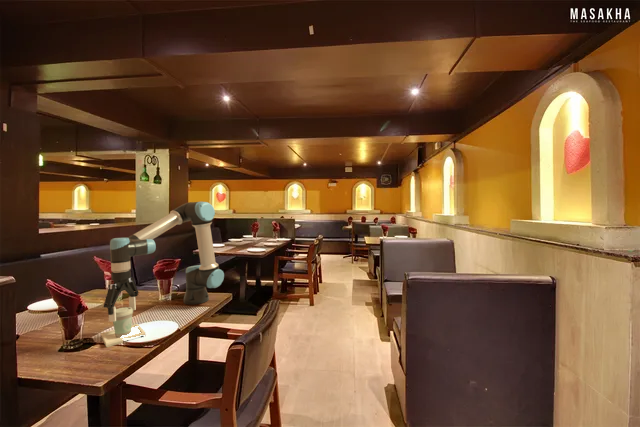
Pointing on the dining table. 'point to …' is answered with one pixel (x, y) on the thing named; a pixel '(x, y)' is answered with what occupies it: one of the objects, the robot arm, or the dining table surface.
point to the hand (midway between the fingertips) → (123, 315)
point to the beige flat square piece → (112, 340)
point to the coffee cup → (123, 321)
